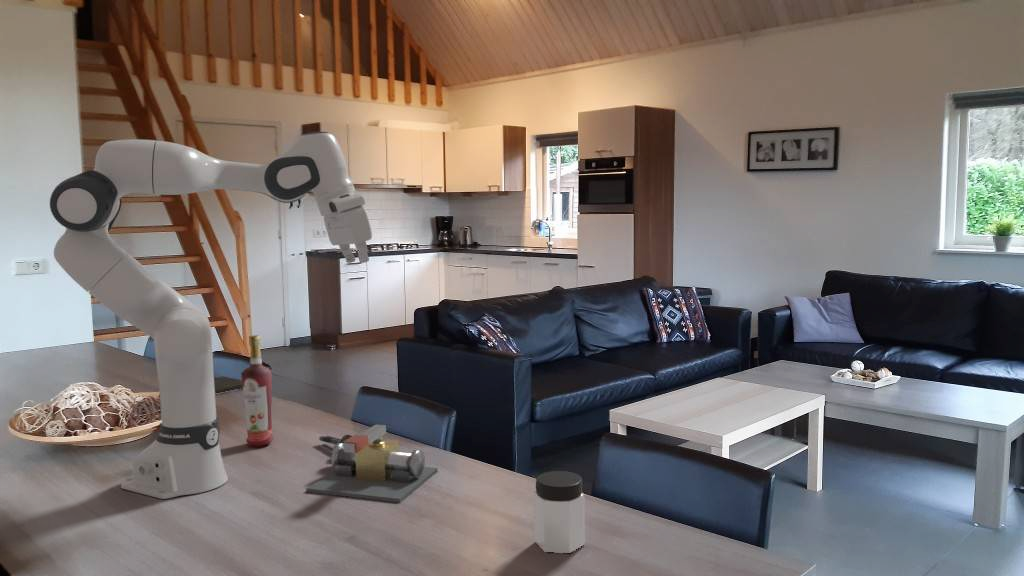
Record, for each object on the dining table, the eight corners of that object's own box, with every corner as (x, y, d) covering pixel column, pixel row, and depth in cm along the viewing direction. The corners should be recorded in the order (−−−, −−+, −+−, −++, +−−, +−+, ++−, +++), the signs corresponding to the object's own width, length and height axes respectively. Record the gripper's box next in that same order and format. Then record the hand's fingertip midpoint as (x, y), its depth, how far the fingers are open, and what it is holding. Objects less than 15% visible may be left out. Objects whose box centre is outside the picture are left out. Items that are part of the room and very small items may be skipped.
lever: (375, 437, 173) (374, 423, 173) (387, 438, 172) (386, 424, 172) (342, 457, 160) (342, 442, 160) (355, 458, 159) (355, 443, 159)
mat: (306, 491, 165) (306, 488, 164) (351, 462, 182) (351, 459, 182) (400, 502, 158) (400, 498, 158) (437, 471, 176) (437, 467, 176)
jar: (556, 529, 144) (555, 466, 142) (592, 541, 138) (592, 476, 137) (525, 546, 137) (524, 480, 135) (563, 559, 132) (562, 491, 130)
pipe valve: (330, 475, 172) (328, 443, 171) (346, 465, 178) (344, 433, 177) (412, 484, 165) (411, 450, 165) (426, 473, 172) (425, 440, 171)
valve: (412, 465, 184) (358, 467, 174) (355, 449, 203) (303, 450, 193) (415, 438, 185) (360, 438, 175) (358, 425, 204) (306, 424, 194)
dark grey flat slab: (161, 396, 252) (160, 389, 252) (223, 382, 270) (223, 376, 270) (189, 403, 243) (188, 396, 242) (252, 388, 261) (251, 381, 261)
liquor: (280, 440, 201) (274, 333, 198) (266, 449, 194) (260, 339, 191) (254, 439, 202) (248, 333, 199) (239, 448, 195) (233, 338, 192)
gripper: (312, 210, 179) (331, 266, 182) (338, 204, 162) (359, 266, 164) (337, 202, 182) (356, 258, 185) (366, 195, 165) (386, 257, 167)
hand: (358, 262), depth 174 cm, fingers open, 8 cm apart
